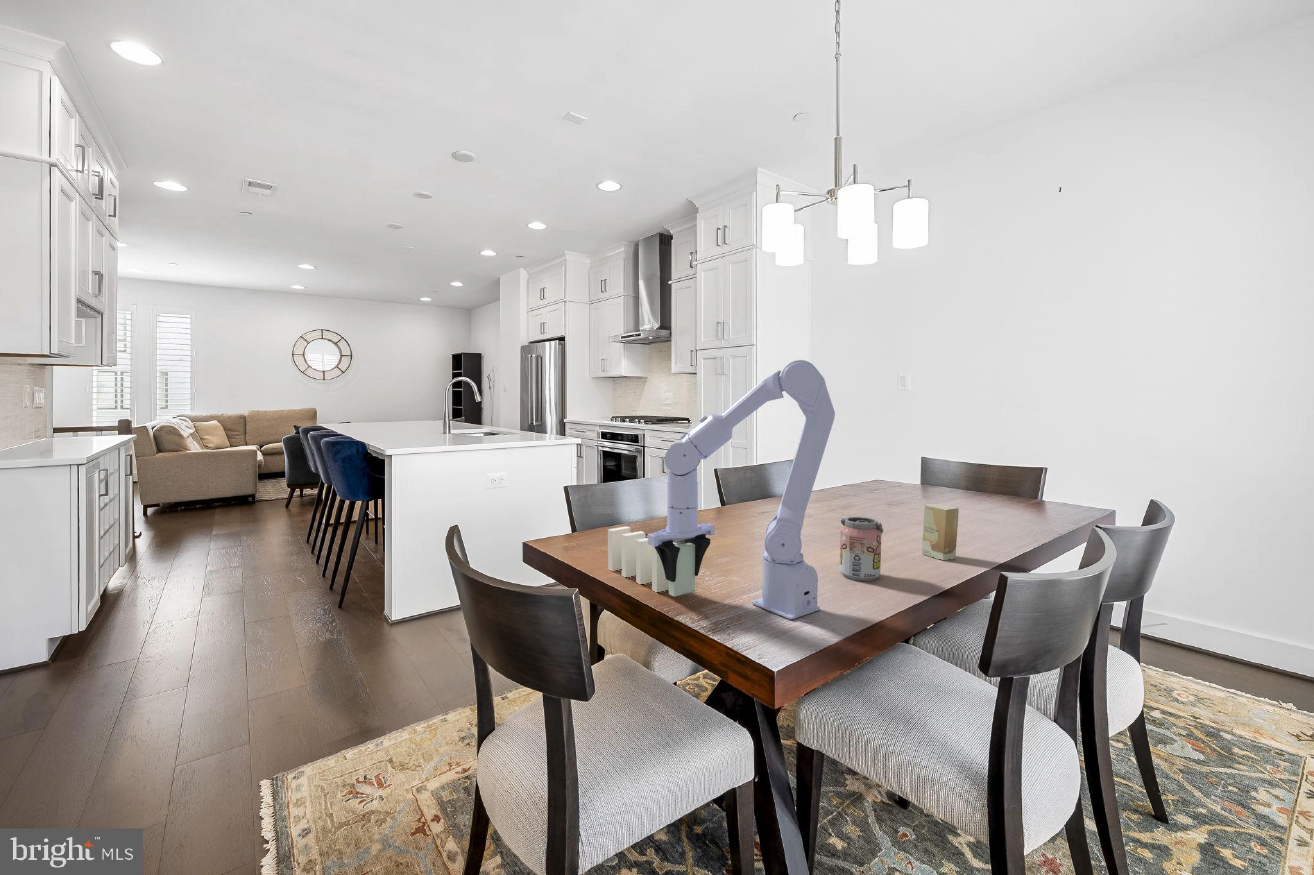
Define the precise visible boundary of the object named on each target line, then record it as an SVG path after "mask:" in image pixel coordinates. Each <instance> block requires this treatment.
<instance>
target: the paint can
mask: <svg viewBox="0 0 1314 875" xmlns="http://www.w3.org/2000/svg"><path fill="white" fill-rule="evenodd" d="M840 523H841V525H843V526H842V527H841V530H840V542H839V543H840V544H839V547H840V548H839V571H840V573H841V575H842V576H843V577H844V578H846V579H850V580H851V581H852V580H853V581H859V582H873V581H876V580H877V579H878V578H879V577H880V576H881V565H882V564H881V563H882V562H881V559H882V534H883V533H884V528H883V523H882V522H879V521H878V520H876V519H875V518H871V517H864V516H849V517H848V516H847V517H846V518H841V520H840Z"/></svg>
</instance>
